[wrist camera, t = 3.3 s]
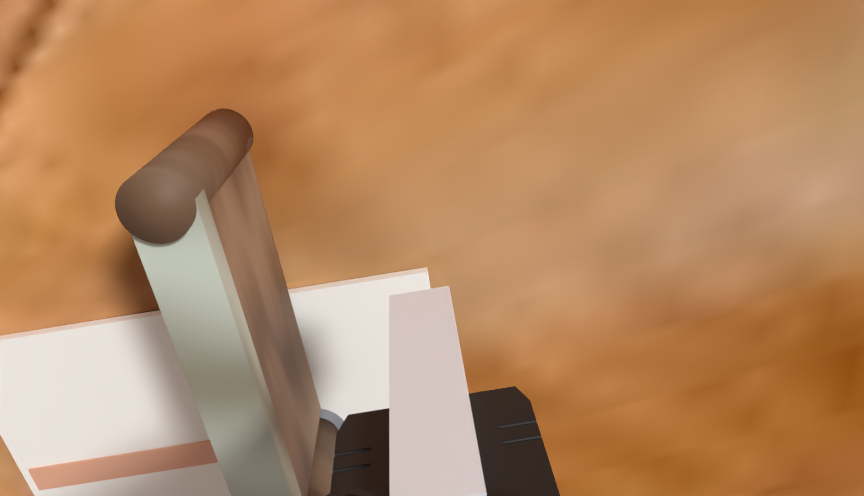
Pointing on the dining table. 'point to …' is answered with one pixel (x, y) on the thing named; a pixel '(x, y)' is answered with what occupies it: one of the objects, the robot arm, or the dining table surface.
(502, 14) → the dining table surface
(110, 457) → the card
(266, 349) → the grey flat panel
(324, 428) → the fence fixed section
